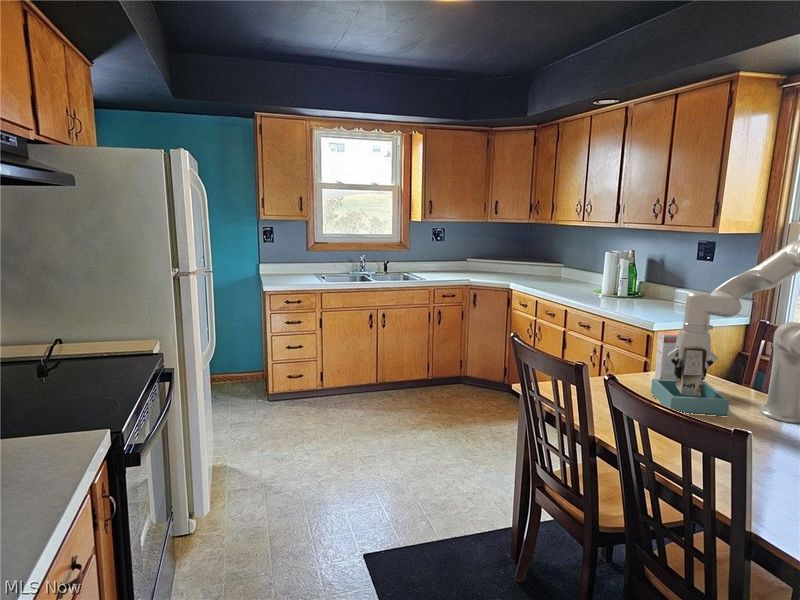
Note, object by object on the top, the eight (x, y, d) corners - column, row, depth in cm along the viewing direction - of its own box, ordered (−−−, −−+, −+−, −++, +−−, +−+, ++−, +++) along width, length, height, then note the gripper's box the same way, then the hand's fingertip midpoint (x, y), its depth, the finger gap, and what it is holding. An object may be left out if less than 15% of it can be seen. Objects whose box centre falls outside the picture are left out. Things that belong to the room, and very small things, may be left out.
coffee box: (701, 396, 167) (707, 351, 164) (680, 394, 169) (686, 349, 166) (695, 387, 176) (700, 344, 173) (674, 385, 178) (679, 342, 174)
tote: (702, 396, 181) (704, 381, 180) (727, 417, 163) (729, 400, 162) (650, 394, 183) (652, 378, 182) (669, 414, 166) (671, 397, 165)
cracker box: (690, 382, 195) (695, 331, 191) (697, 387, 190) (703, 335, 186) (653, 381, 197) (658, 330, 193) (659, 386, 191) (664, 334, 187)
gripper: (717, 326, 170) (711, 375, 174) (664, 324, 173) (659, 373, 176) (728, 332, 163) (721, 382, 167) (672, 330, 166) (667, 380, 169)
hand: (689, 377), depth 171 cm, fingers closed on coffee box, 7 cm apart
